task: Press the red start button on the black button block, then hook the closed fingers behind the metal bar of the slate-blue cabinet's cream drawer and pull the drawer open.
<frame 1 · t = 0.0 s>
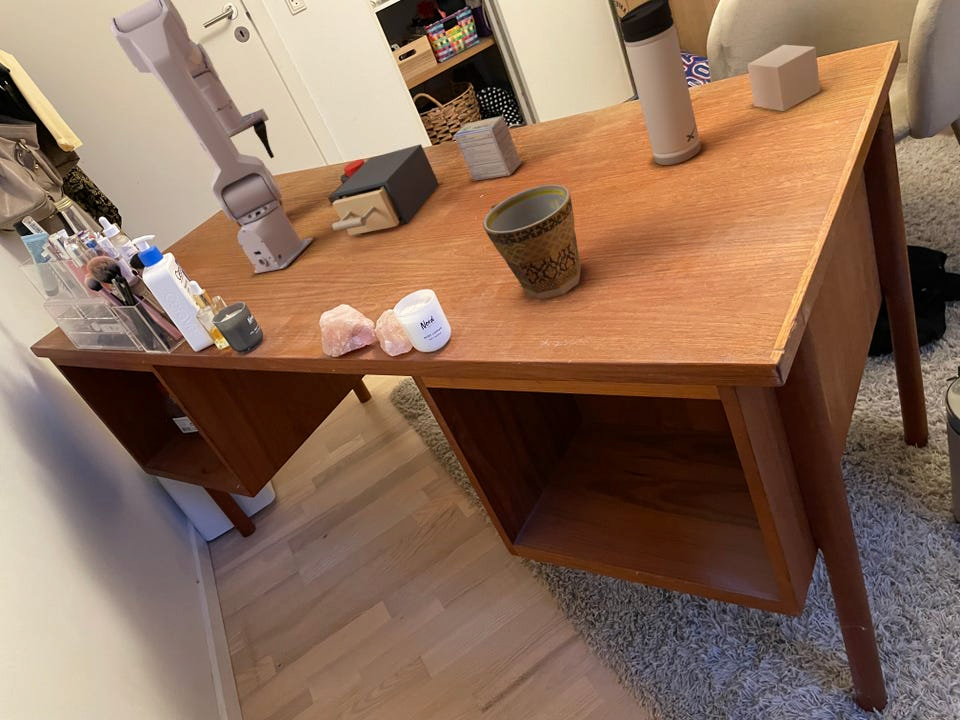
hand: (256, 164, 146), 11 cm above the table, tool pointing down, fingers open, 7 cm apart
drawer: (374, 203, 116), point 4 cm above the table, slide at 1.0 cm
button: (355, 168, 138), point 4 cm above the table, slide at 0.1 cm
cabinet: (397, 208, 121), on the table
ceramic cup: (547, 281, 81), on the table
travel mug: (679, 155, 94), on the table
paper stack: (498, 174, 116), on the table
pump dispenser: (270, 229, 143), on the table
button block: (364, 186, 140), on the table
pinkish grey cube: (786, 100, 95), on the table
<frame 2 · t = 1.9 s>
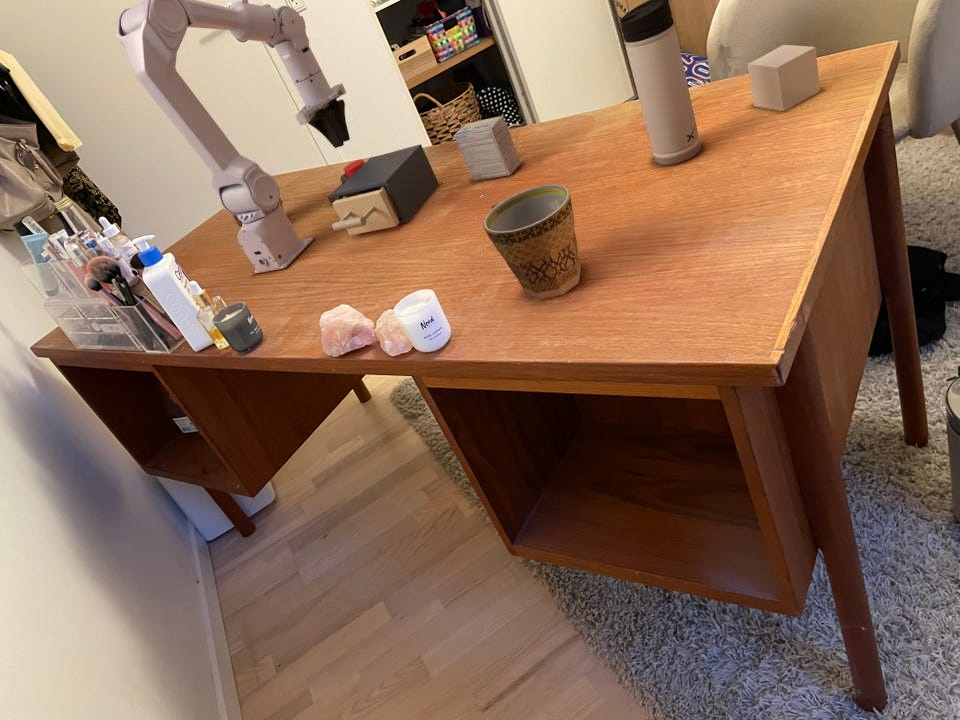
hand: (342, 143, 135), 9 cm above the table, tool pointing down, fingers closed
nothing on the table moved.
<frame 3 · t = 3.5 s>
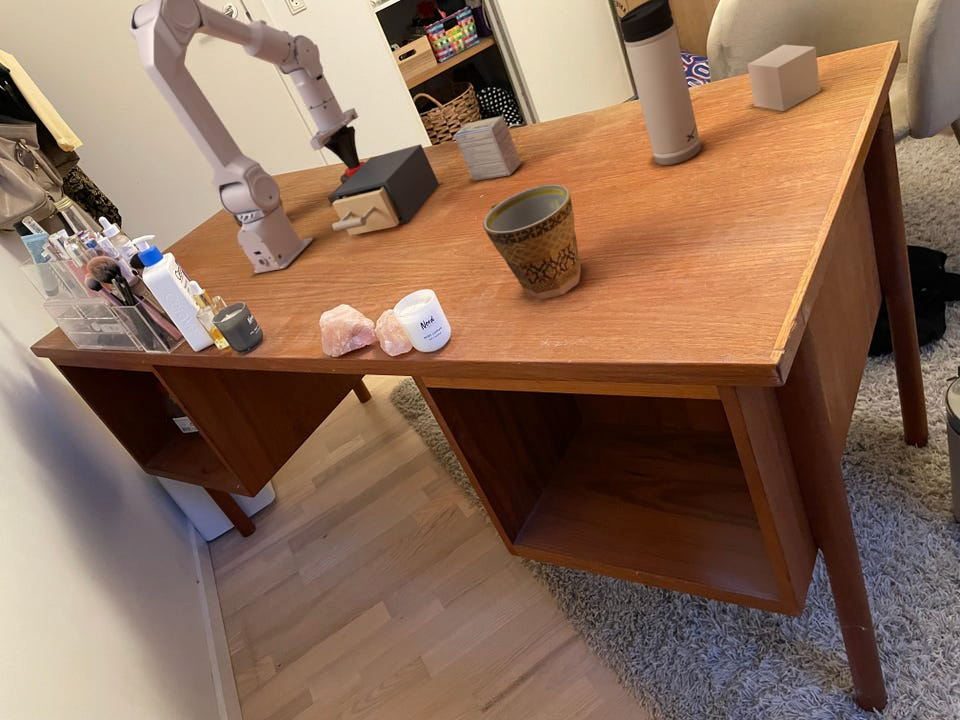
hand: (354, 167, 138), 4 cm above the table, tool pointing down, fingers closed, pressing on button
button: (356, 170, 138), point 3 cm above the table, slide at -0.4 cm, touching gripper
everything else where it was.
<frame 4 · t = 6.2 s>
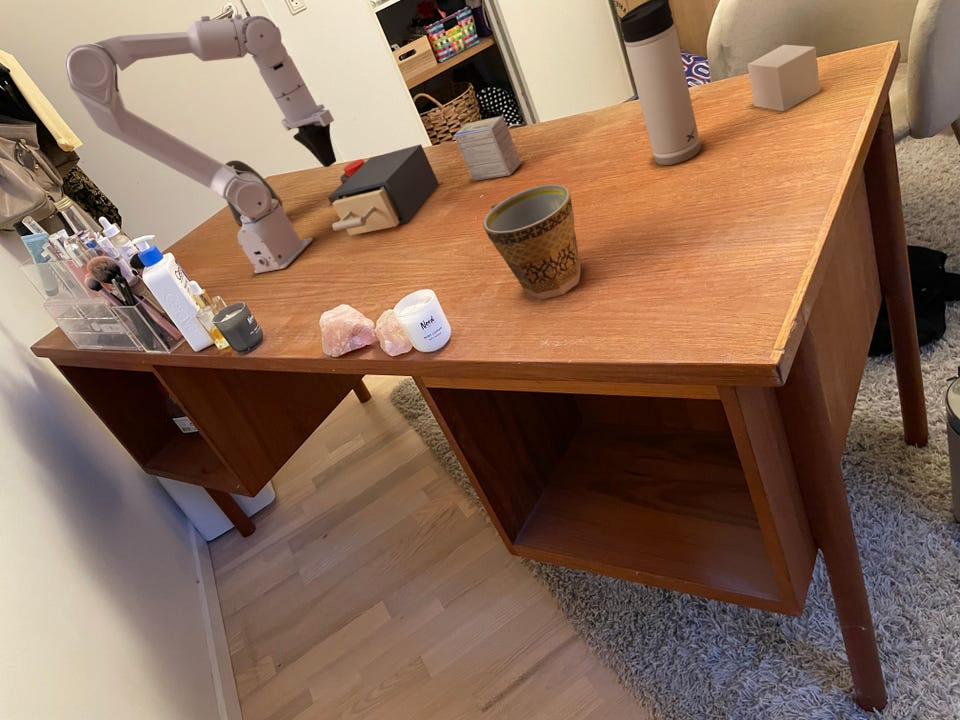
hand: (330, 164, 122), 10 cm above the table, tool pointing down, fingers closed
button: (355, 168, 138), point 4 cm above the table, slide at 0.1 cm
everything else where it was.
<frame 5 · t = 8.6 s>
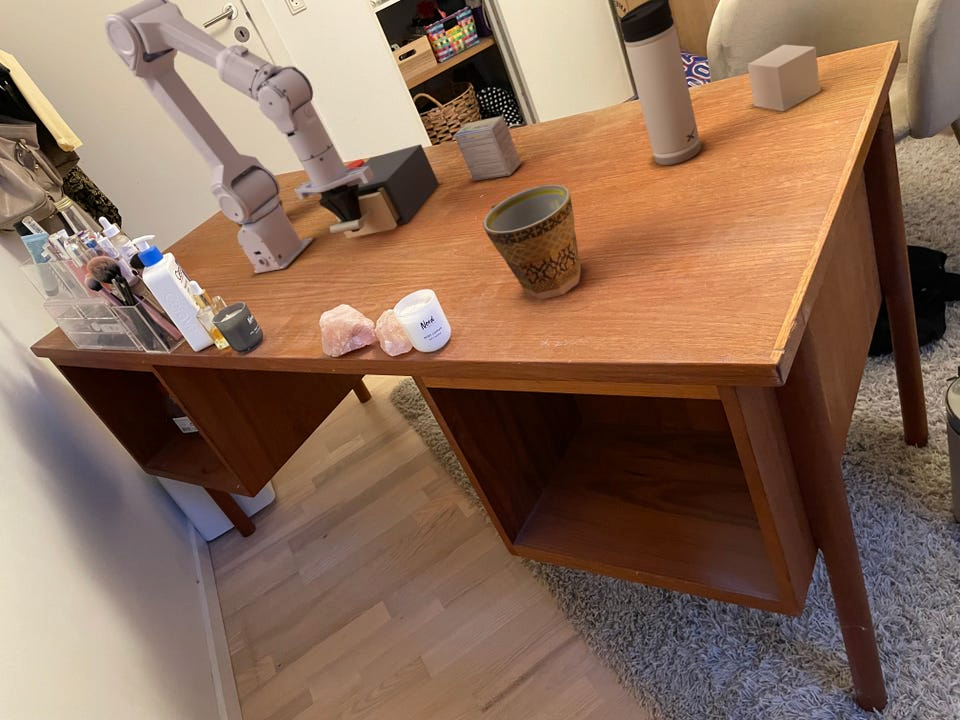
hand: (358, 228, 112), 3 cm above the table, tool pointing down, fingers closed, pressing on drawer
drawer: (372, 206, 115), point 4 cm above the table, slide at 1.8 cm, touching gripper
everything else where it was.
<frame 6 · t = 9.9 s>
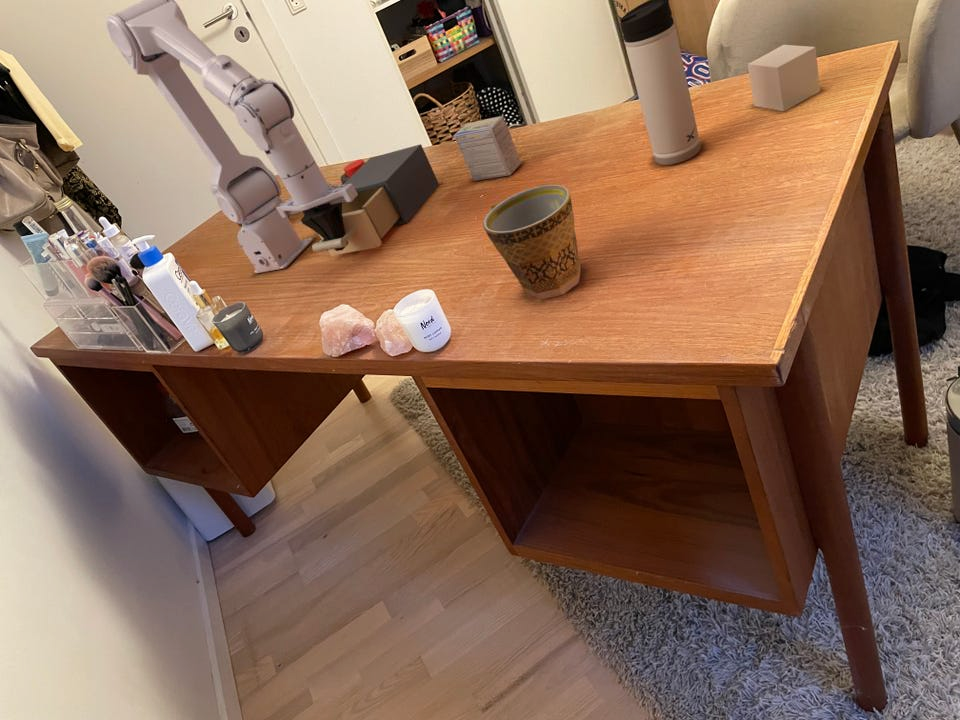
hand: (342, 247, 108), 3 cm above the table, tool pointing down, fingers closed, pressing on drawer
drawer: (356, 222, 112), point 4 cm above the table, slide at 7.3 cm, touching gripper
everything else where it was.
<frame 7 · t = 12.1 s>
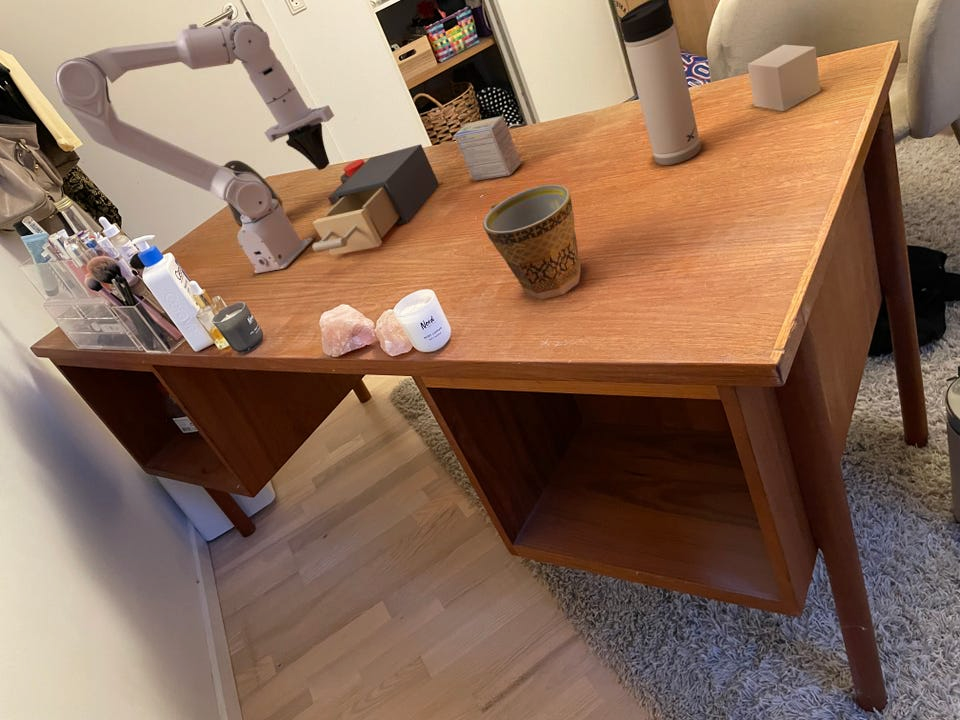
hand: (324, 166, 122), 10 cm above the table, tool pointing down, fingers closed
drawer: (356, 222, 112), point 4 cm above the table, slide at 7.2 cm
everything else where it was.
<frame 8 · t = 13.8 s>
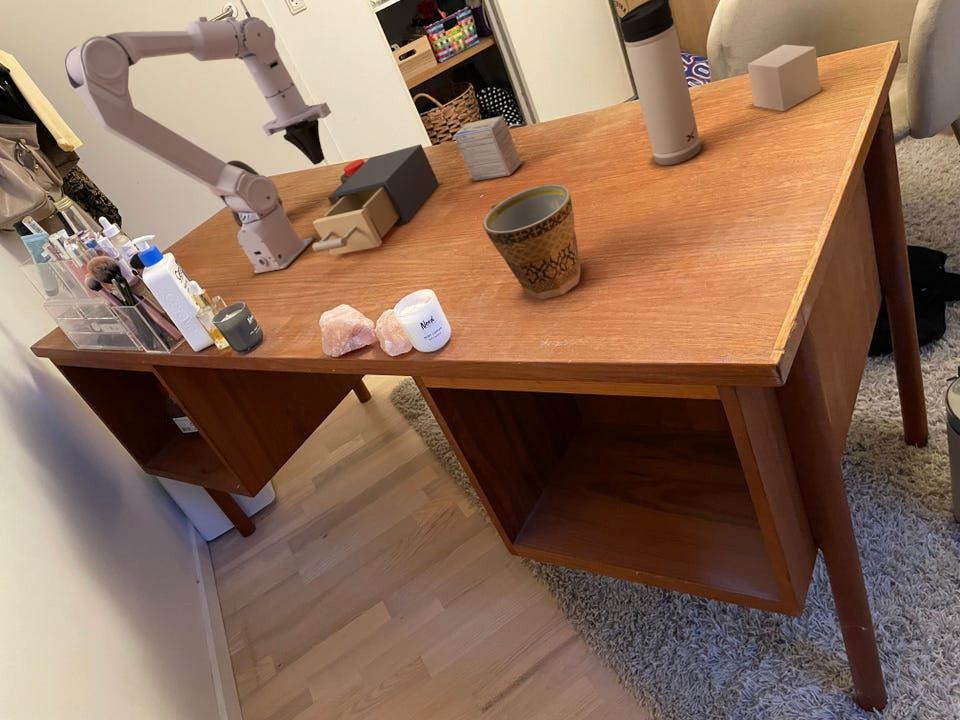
hand: (319, 161, 126), 10 cm above the table, tool pointing down, fingers closed
nothing on the table moved.
at the end: button pushed in 1.2 cm at the most during the clip, back to where it started at the end; button slide at 0.1 cm; drawer slide at 7.2 cm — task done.
